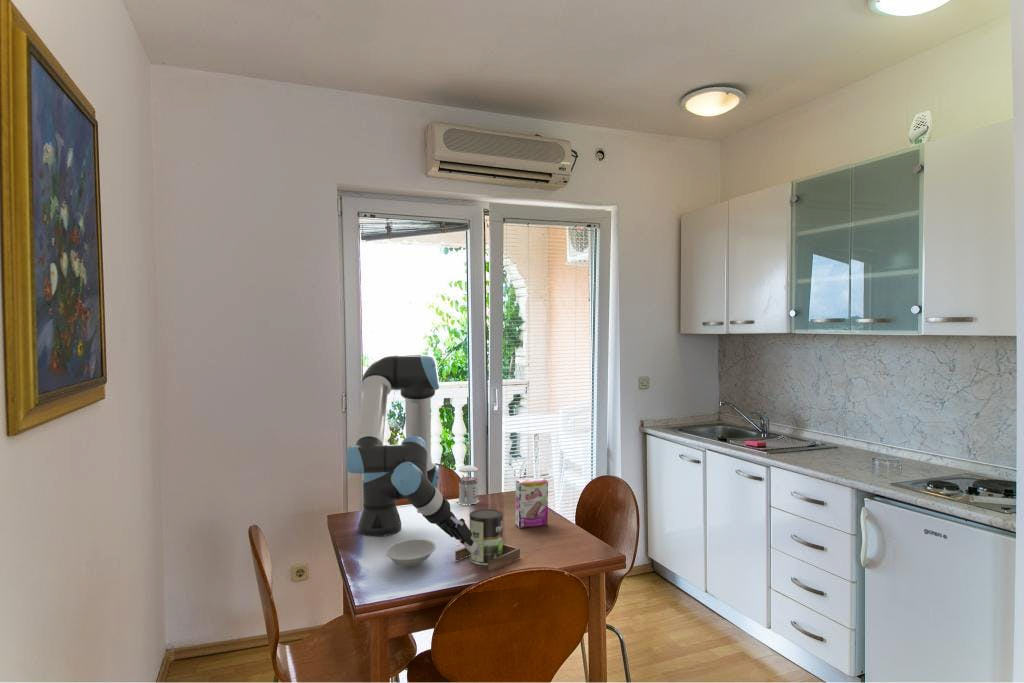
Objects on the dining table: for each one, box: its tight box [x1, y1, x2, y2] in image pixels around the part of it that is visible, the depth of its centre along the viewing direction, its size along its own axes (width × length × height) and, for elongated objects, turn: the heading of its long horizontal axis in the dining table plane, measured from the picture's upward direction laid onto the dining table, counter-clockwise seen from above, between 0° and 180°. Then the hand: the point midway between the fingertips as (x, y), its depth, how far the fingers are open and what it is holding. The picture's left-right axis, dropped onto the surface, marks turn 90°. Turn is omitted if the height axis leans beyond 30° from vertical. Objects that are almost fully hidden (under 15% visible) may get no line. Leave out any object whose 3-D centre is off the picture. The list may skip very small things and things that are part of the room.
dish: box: [385, 538, 437, 567], centre depth 174 cm, size 18×14×5 cm
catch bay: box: [454, 543, 521, 573], centre depth 179 cm, size 14×14×3 cm
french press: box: [457, 441, 480, 506], centre depth 242 cm, size 10×12×25 cm
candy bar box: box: [514, 478, 549, 529], centre depth 212 cm, size 11×5×16 cm, turn 108°
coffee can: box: [468, 508, 504, 566], centre depth 179 cm, size 10×10×14 cm
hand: (474, 548), depth 174 cm, fingers closed
